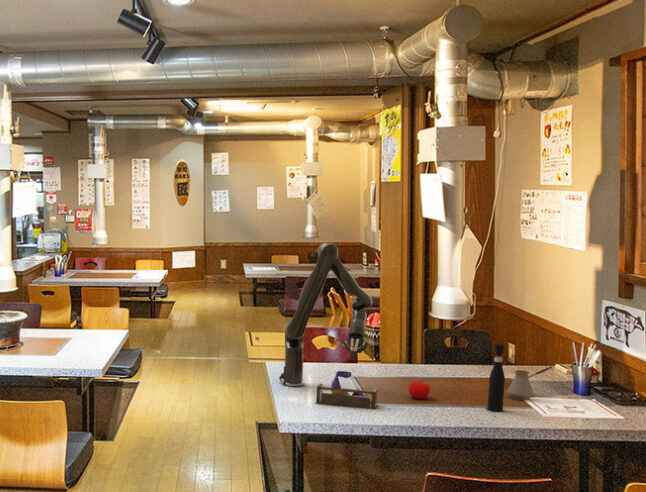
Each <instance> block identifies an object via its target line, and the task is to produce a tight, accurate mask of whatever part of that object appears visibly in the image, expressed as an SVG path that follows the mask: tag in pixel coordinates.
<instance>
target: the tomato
mask: <svg viewBox="0 0 646 492" xmlns="http://www.w3.org/2000/svg"><path fill="white" fill-rule="evenodd" d="M408 393H409V395H410V396H411V397H412V398H413V399H418V400H423V399H427V398H428V397H429V395H430V393H431V386H430V384H429V383H428V382H426V381H422V380H414V381H412V382H411V383H410V384H409V387H408Z"/></svg>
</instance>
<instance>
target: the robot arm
mask: <svg viewBox="0 0 646 492" xmlns="http://www.w3.org/2000/svg"><path fill="white" fill-rule="evenodd" d="M338 255H339V249H338V247H337V246H336V245H335V244H333V243H331V242H323V243H320V245H319V246H318V248H317V257H318V258H317V261H316V264H315V267H314V268H313V270H312V271H311V273H310V274H309V276H308V277H307V278H306V280H305V282H304V284H303V286H302V289H301V291H300V294H299V298H298V302H297V305H296V309H295V313H294V315H293V316H292V319H291V320H288V321H287V322H286V324H285V327H284V349H285V350H284V366H283V372H282V373H281V374H280V376H279V378H278V379H279V381H280V382H282V384H283V386H288V387H302V386H303V385H304V350H305V349H304V335H305V332H306V329H307V325H308V322H309V320H310V316H311V314H312V312H313V311H314V309H315V307H316V305H317V302H318V301H319V299H320V297H321V294H322V291H323V289H324V286H325V284H326V281H327V278H328V276H329V273H330V271H331V272H332V274H334V275H333V276H334V277H335V279H337V282H338V283H339V284H340V286H341V287H342V289H343V290H344V292H345V294H346V295H347V296H348V297H355V298H353V299H352V300H351V302H350V309H351V321H350V324H349V329H348V335H347V338H346V340H342V341H341V345H342V347H343V348H344V349H345V351H346V353H349V359H350V360H351V361H355V360H356V359H357V354H361V353H363V352H364V351H365V350H366V349H367V348H368V347H369V343H368V342H366V341H365V333H366V327H367V325H366V324H367V317H368V316H367V312H366V311H365V310H367V309H370V308H371V307H372V306H373V298H372V297H371V296H370V295H369V293H367V292H366V291H365V290H364V289H363V288H362V287H360V286H359V284H358V283H357V281H356V280H355V278H354V276H353V275H352V274H351V273H350V272H349V270H348V269H347V268H346V267H345V266H344V264H343V263H342V261H341V259H340V258H339V256H338Z"/></svg>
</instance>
